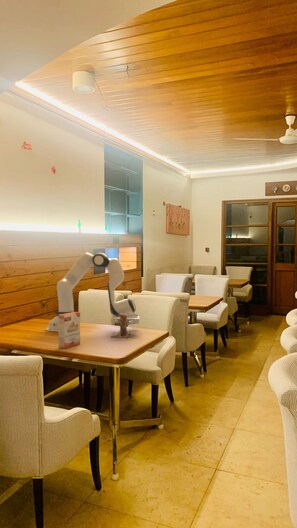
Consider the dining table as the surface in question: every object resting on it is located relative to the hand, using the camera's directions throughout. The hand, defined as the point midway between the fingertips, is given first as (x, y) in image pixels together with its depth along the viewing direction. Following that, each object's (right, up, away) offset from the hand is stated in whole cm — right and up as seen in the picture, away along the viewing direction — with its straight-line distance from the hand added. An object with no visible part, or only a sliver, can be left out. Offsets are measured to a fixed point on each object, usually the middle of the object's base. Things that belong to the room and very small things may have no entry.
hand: (123, 322), depth 272 cm
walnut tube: (0, -9, +1) cm, 9 cm away
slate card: (-2, -10, +1) cm, 10 cm away
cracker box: (-33, -12, -24) cm, 42 cm away
